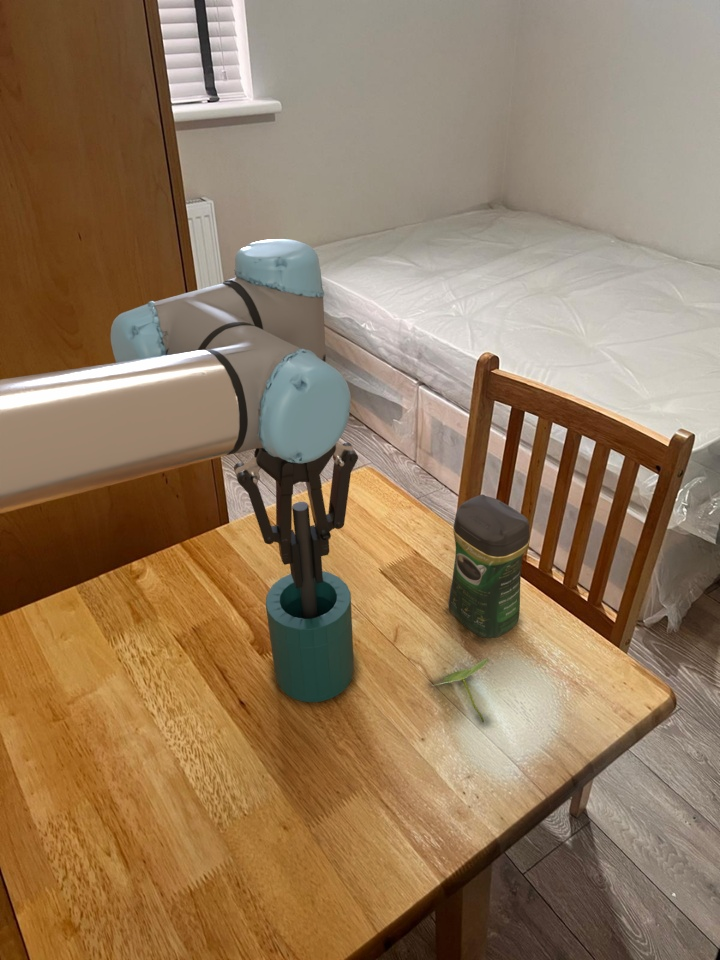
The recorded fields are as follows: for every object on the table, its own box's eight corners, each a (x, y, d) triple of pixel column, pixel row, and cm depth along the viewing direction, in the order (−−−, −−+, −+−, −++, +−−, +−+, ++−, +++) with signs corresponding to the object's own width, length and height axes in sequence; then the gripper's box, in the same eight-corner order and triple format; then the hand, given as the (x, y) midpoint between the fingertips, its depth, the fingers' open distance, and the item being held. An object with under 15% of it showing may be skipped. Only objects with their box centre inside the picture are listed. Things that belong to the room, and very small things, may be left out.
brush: (301, 672, 92) (285, 522, 78) (293, 647, 95) (276, 499, 81) (335, 663, 93) (324, 513, 79) (325, 639, 96) (314, 491, 82)
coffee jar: (528, 622, 101) (544, 516, 91) (487, 649, 98) (499, 542, 87) (478, 584, 108) (488, 482, 97) (438, 608, 104) (444, 504, 93)
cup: (285, 711, 90) (275, 638, 83) (268, 651, 98) (258, 580, 91) (363, 690, 93) (361, 617, 85) (341, 633, 101) (337, 562, 93)
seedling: (464, 729, 93) (443, 680, 95) (518, 707, 90) (496, 656, 92) (441, 739, 87) (419, 686, 89) (498, 715, 84) (475, 661, 86)
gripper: (351, 374, 77) (357, 545, 91) (211, 397, 74) (239, 571, 87) (373, 406, 71) (376, 584, 85) (222, 433, 68) (250, 614, 81)
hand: (306, 577), depth 86 cm, fingers closed on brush, 2 cm apart
